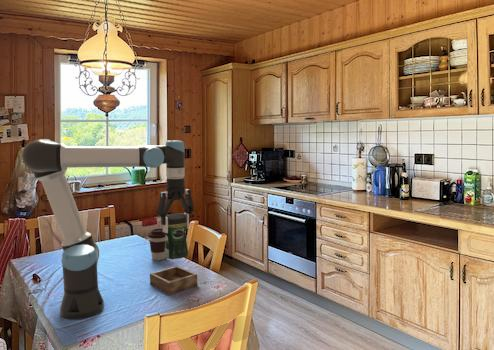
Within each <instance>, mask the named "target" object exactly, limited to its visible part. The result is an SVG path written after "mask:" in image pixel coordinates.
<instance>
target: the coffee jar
mask: <svg viewBox="0 0 494 350" xmlns="http://www.w3.org/2000/svg"><path fill="white" fill-rule="evenodd" d="M166 217H168V233H166V238H165V257H166V258H165V259H167V260H177V259H182V258H186V257H188V255H189V253H188V252H189V250H188V243H187V234H186V230H187V229H186V225H187V220H186V216H185V214H184V213H183V212H180V213H179V212H178V213H171V214H167V215H166Z"/></svg>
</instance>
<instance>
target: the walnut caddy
mask: <svg viewBox="0 0 494 350" xmlns="http://www.w3.org/2000/svg"><path fill="white" fill-rule="evenodd" d="M149 285H150V286H152V287H153V288H156V289H158V290H159V291H161V292H163V293H165V294H167V295H169V296H171V295H174V294H176V293H180V292H182V291H185V290H188V289H191V288H194V287H197V286H198V274H197V273H195V272H194V271H191V270H188V269H186V268H183V267H181V266H179V265H176V266H173V267H169V268H165V269H161V270H158V271H155V272H151V273H149Z"/></svg>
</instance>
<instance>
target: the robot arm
mask: <svg viewBox="0 0 494 350" xmlns="http://www.w3.org/2000/svg"><path fill="white" fill-rule="evenodd" d="M185 153H186V151H185V143H184V141H182V140H166V141H165V145H164V144H162V145H146V144H144V145H137V146H91V145H89V146H87V145H85V146H82V145H81V146H77V145H76V146H74V145H73V146H69V145H68V146H67V145H66V144H65V143H62V142H61V143H58V142H56V141H54V140H52V139H49V138H41V139H36V140H32V141H30V142H29V143H27V144H26V145H25V146H24V148H23V149H22V153H21V159H22V162H23V164H24V165H25V167H26V168H28V169H29V170H31V171H32V174H33V175H34V179H35V180H37V181H39V182H41V184H42V186H43V189H44V192H45V195H46V197H47V199H48V202H49V205H50V208H51V210H52V213H53V215H54V218H55V220H56V224H57V226H58V229H59V231H60V234H61V236H62V239H63V241H62V242H61V244H60V245H61V248H62V251H63V252H62V254H61V266H62V278H63V296H62V299H61V304H60V306H59V315H60V314H61V315H60V316H62V317H61V318H63V317H64V318H63V319H66V318H67V319H66V320H83V319H87V318H88V319H89V318H91V317H94V316H96V315H98V314H100V313H101V312H102V311H103V310H104V309H105V303H104V298H103V296H102V294H101V292H100V289H99V284H98V283H99V280H98V262H99V259H100V258H99V257H100V249H99V246H98V245H97V243H96V242H95V239H94V238H93V237H94V236H93V235H92V233H91V232H89V231H87V230H86V228H85V226H84V222H83V220H82V217H81V214H80V212H79V209H78V206H77V203H76V201H75V199H74V195H73V193H72V190H71V187H70V184H69V182H68V180H67V176H66V173H67V171H68V168H71V169H73V168H139V167H140V168H151V169H153V168H158V167H160V166H161V165H166V166H165V167H166V168H165V172H166V173H165V175H166V181H165V182H166V185H165V186H166V191H160V192H159V197H160V198H159V201H158V202H159V203H158V207H157V210H156V211H157V212H156V216H158V217H160V224H161V225H162V229H163V232H164V233H168V217H166V215H168V213H169V211H170V209H171V206H172V203H174V202H175V201H179V203H180V204H181V206H182V209H183V210H184V213H183V214H185V216H186V220H187V225H186V229H185V230H190V222H191V215H192V213H193V212H195V207H194V203H193V200H192V189H189V188H186V189H185V185H186V181H185V180H186V179H185V178H184V177H186V175H185V172H186V171H185V168H186V167H185V166H186V164H185V160H186V159H185ZM184 194H185V195H184Z"/></svg>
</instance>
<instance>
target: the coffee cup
mask: <svg viewBox="0 0 494 350" xmlns="http://www.w3.org/2000/svg"><path fill="white" fill-rule="evenodd" d="M147 235H148V238H149V246H150V252H151V259H152V260H153V261H163V260H166V259H167V258H166V257H165V238H166V233H164V232H163V228H153V229H151V231H150V232H149V233H148V234H147Z"/></svg>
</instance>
